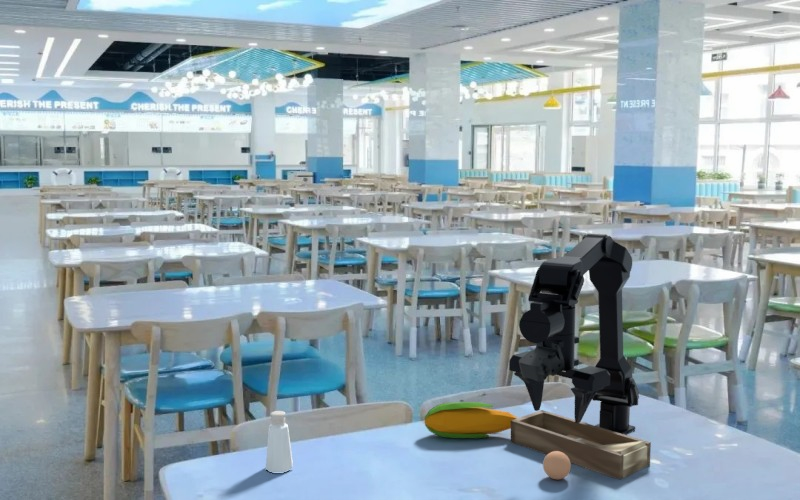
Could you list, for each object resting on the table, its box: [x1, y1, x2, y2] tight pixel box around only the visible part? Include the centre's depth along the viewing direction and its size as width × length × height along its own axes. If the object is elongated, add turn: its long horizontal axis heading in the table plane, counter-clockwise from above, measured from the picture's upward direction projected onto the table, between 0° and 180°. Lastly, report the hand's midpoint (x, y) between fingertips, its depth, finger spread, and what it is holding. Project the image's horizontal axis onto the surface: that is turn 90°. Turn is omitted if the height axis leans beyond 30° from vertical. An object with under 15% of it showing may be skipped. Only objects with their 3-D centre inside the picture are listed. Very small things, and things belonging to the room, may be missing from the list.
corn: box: [424, 401, 518, 439], centre depth 172 cm, size 7×8×20 cm
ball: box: [542, 451, 572, 481], centre depth 150 cm, size 5×5×5 cm
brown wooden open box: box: [510, 409, 652, 480], centre depth 162 cm, size 10×26×5 cm, turn 41°
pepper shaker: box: [265, 410, 294, 472], centre depth 155 cm, size 5×5×11 cm
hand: (556, 416), depth 149 cm, fingers open, 9 cm apart
